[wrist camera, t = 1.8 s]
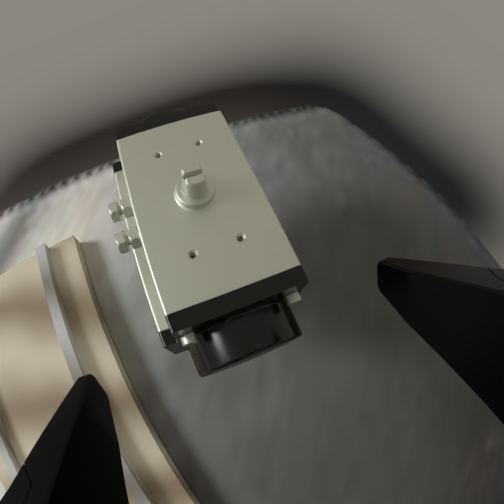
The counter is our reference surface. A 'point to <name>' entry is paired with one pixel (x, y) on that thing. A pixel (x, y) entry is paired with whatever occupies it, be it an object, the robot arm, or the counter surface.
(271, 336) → the pneumatic valve
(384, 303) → the counter surface
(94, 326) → the mounting panel
